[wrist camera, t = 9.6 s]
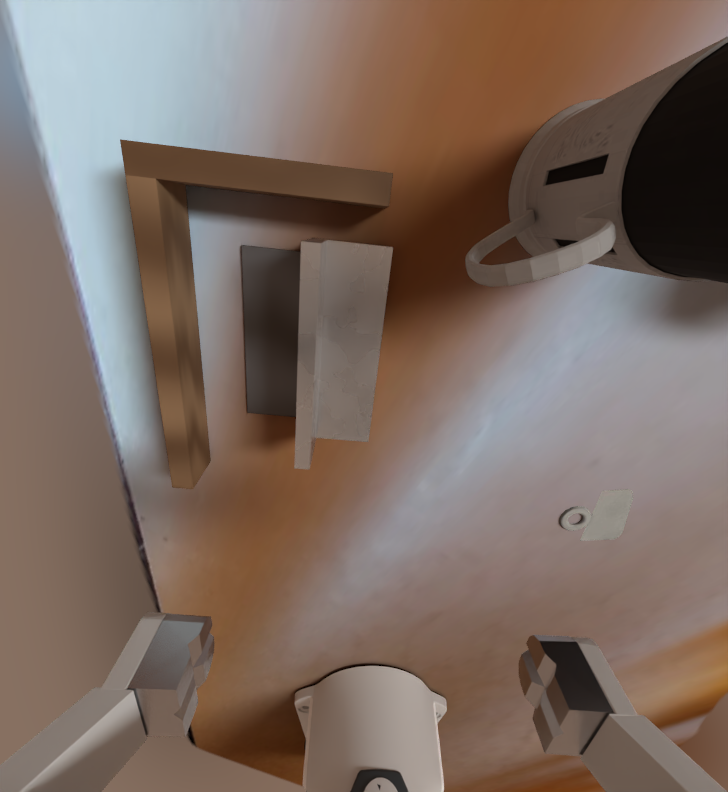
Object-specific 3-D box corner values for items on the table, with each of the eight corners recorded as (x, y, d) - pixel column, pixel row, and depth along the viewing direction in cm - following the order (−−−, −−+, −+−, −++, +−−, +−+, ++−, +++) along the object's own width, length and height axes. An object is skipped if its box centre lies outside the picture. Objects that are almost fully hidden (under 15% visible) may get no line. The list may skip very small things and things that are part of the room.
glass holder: (660, 234, 23) (1081, 252, 10) (444, 316, 25) (540, 424, 12) (654, 69, 20) (1305, -272, 6) (404, 179, 22) (475, 107, 8)
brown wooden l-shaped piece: (354, 472, 31) (353, 501, 28) (192, 459, 30) (172, 487, 27) (388, 180, 22) (393, 173, 19) (156, 152, 21) (120, 139, 18)
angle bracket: (312, 237, 23) (300, 241, 18) (391, 246, 23) (399, 252, 19) (304, 429, 29) (294, 468, 24) (367, 435, 29) (369, 474, 25)
